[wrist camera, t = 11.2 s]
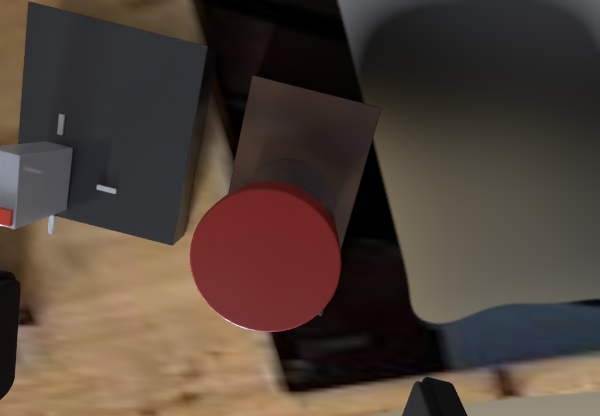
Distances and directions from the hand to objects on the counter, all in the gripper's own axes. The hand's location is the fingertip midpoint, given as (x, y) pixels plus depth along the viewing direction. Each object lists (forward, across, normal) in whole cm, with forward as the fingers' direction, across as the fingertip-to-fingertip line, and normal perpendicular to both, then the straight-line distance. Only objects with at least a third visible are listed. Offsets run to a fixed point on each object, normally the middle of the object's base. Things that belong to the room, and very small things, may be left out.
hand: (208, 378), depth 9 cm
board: (+22, 0, +1) cm, 22 cm away
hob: (+22, +13, -1) cm, 26 cm away
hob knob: (+19, +16, +3) cm, 25 cm away
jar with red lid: (+20, 0, +1) cm, 20 cm away
